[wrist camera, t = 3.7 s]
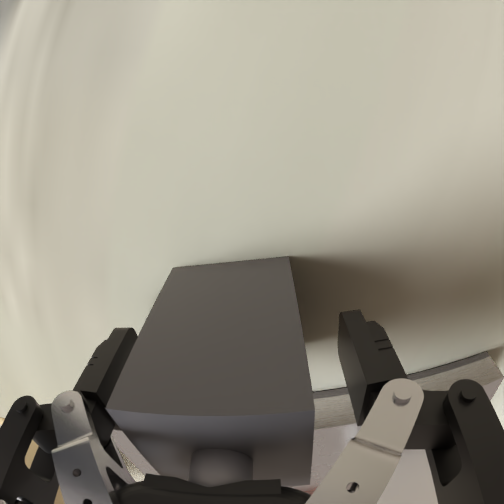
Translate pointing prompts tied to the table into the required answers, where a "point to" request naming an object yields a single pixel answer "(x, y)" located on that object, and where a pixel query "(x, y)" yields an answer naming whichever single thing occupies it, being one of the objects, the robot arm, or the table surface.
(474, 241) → the table surface
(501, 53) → the table surface
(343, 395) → the socket plate
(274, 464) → the grey plug
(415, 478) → the white plug
